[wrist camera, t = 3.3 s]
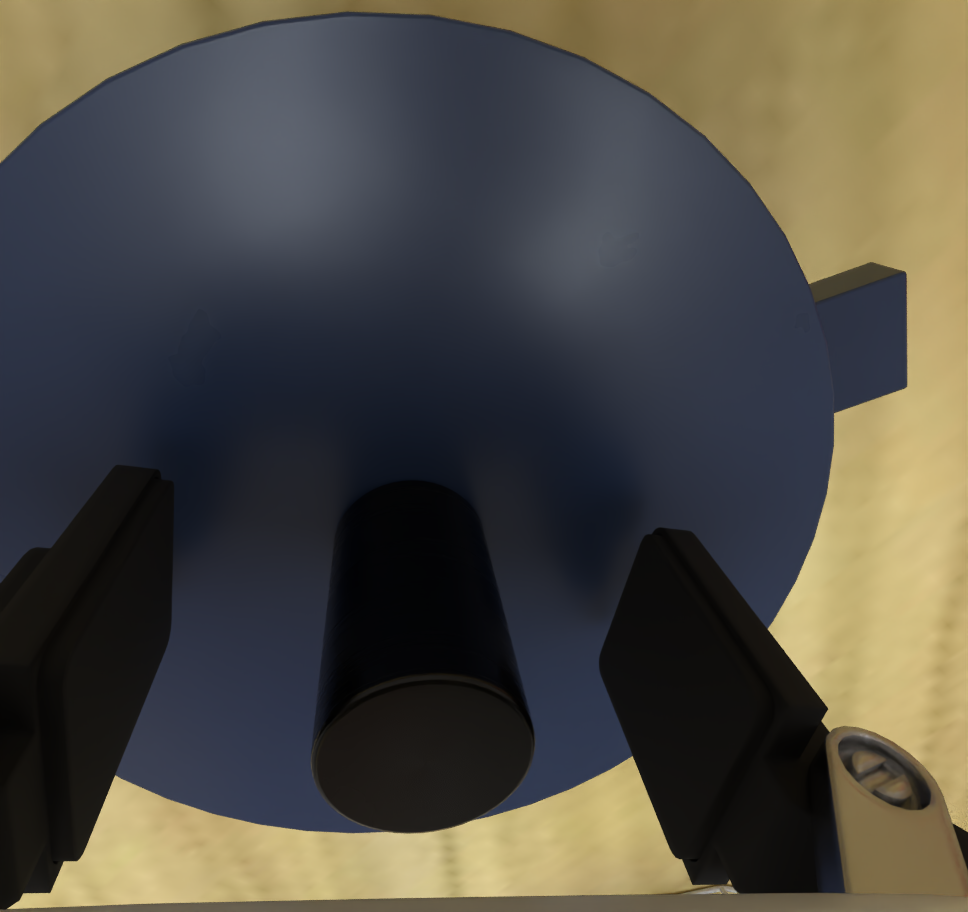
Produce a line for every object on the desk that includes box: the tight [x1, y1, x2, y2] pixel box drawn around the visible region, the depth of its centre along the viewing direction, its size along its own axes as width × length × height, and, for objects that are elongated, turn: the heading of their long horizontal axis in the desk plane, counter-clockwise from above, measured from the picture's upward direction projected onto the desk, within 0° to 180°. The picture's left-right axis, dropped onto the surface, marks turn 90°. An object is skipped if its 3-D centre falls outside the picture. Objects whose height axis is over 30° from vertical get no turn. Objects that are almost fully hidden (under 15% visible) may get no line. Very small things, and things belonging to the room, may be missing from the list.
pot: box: [809, 262, 907, 413], centre depth 15 cm, size 15×20×7 cm
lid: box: [0, 11, 834, 833], centre depth 10 cm, size 16×16×6 cm
